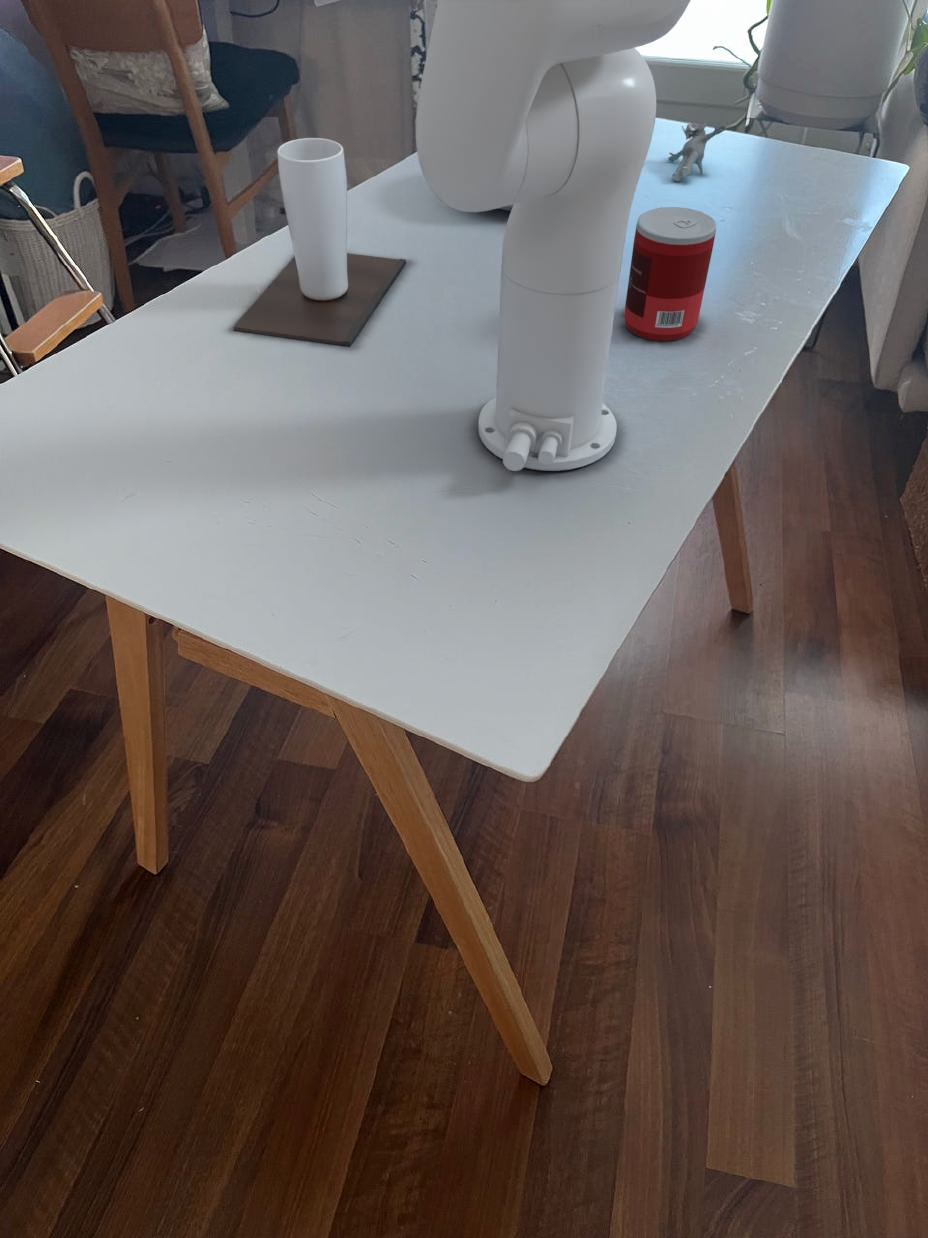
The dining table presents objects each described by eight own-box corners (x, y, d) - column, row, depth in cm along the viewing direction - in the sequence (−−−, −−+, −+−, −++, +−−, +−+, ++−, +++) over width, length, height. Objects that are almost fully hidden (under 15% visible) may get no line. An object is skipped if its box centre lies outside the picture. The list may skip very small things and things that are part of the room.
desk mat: (350, 346, 96) (350, 342, 96) (233, 330, 99) (232, 325, 98) (406, 263, 110) (406, 259, 110) (302, 250, 112) (302, 246, 112)
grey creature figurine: (640, 176, 130) (662, 132, 133) (667, 207, 133) (687, 164, 136) (696, 142, 122) (718, 96, 125) (723, 176, 125) (743, 131, 128)
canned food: (711, 324, 100) (732, 221, 92) (665, 350, 96) (684, 245, 88) (653, 300, 104) (670, 199, 96) (608, 324, 100) (621, 221, 92)
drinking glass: (345, 308, 101) (332, 163, 90) (285, 302, 102) (266, 157, 91) (362, 280, 106) (352, 139, 95) (305, 274, 107) (289, 134, 96)
